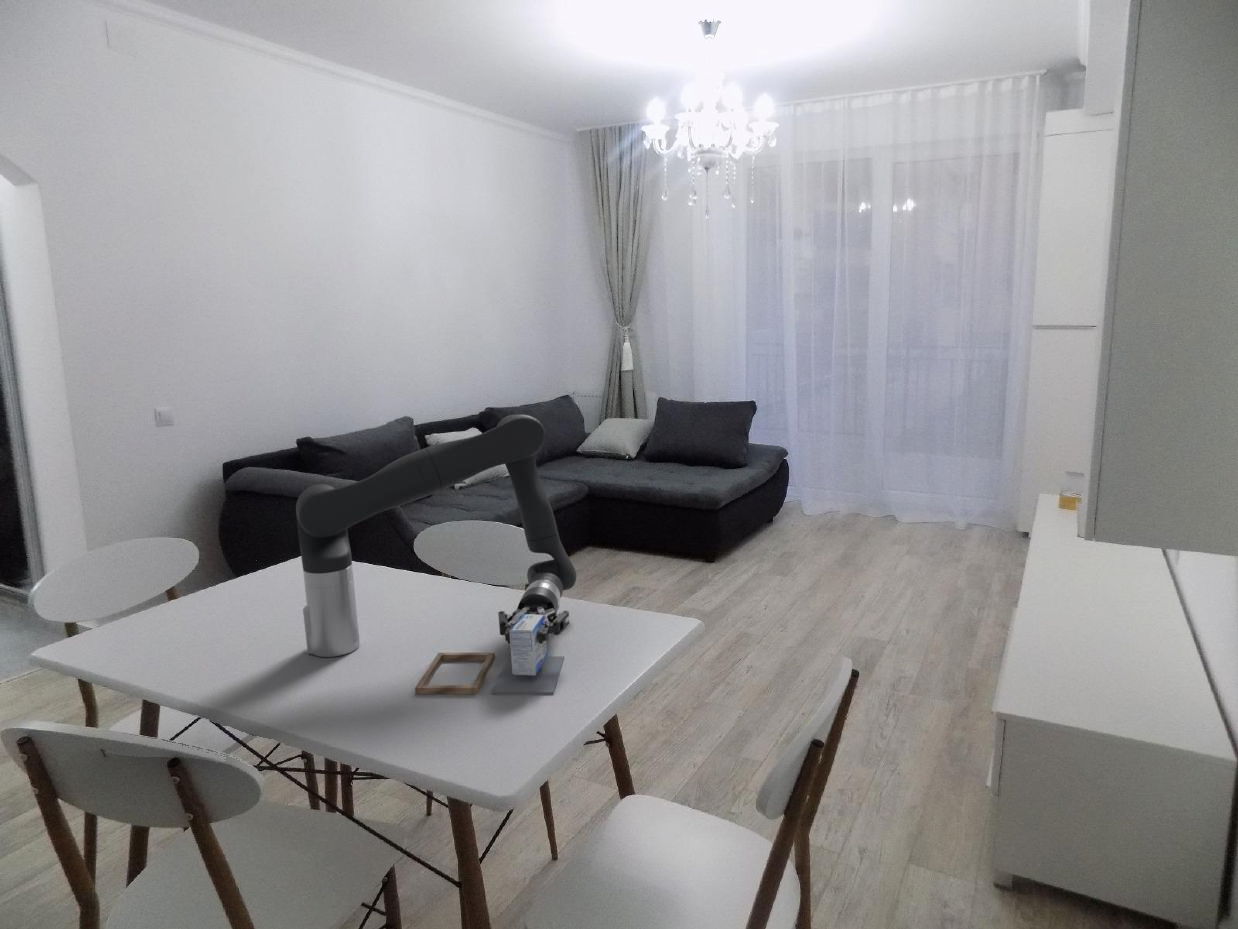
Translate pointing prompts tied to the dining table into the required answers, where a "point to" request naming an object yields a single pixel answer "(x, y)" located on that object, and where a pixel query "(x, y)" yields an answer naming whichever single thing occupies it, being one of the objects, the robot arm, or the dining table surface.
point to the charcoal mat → (529, 678)
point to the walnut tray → (455, 689)
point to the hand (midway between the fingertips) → (525, 638)
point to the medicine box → (527, 645)
